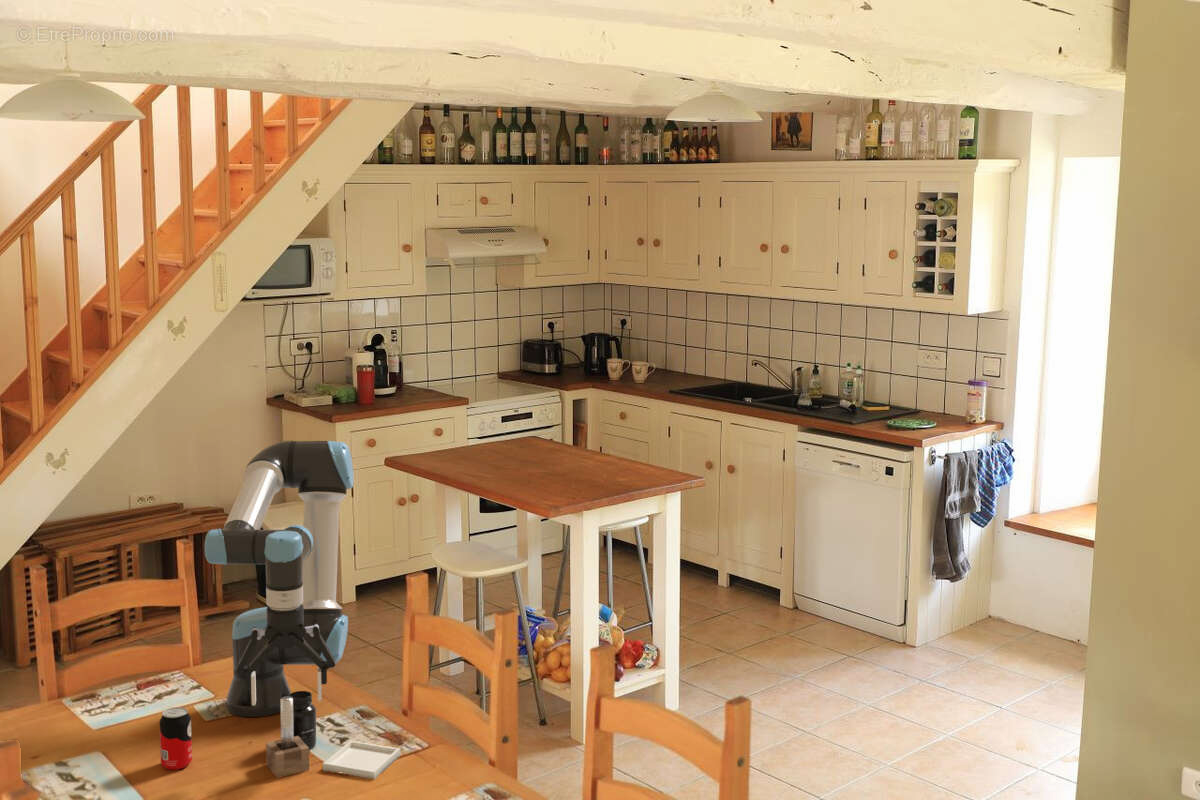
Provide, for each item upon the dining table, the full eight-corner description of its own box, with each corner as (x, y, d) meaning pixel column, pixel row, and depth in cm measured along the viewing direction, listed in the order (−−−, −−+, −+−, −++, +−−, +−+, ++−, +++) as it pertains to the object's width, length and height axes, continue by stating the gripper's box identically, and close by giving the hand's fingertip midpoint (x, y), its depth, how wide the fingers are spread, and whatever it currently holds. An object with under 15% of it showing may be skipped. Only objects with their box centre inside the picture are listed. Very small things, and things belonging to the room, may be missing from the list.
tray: (322, 770, 255) (322, 763, 255) (350, 747, 266) (350, 740, 266) (374, 779, 251) (374, 772, 251) (400, 755, 263) (400, 748, 263)
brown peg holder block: (266, 764, 257) (266, 742, 256) (298, 757, 261) (297, 735, 260) (276, 777, 251) (276, 755, 250) (309, 770, 255) (308, 747, 254)
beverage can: (174, 774, 252) (172, 720, 250) (154, 766, 255) (152, 713, 253) (198, 763, 257) (196, 710, 255) (179, 756, 260) (177, 703, 258)
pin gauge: (281, 763, 254) (280, 701, 252) (281, 758, 257) (280, 696, 255) (293, 763, 255) (292, 700, 253) (294, 757, 257) (293, 695, 255)
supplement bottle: (308, 754, 263) (307, 702, 261) (279, 750, 264) (278, 699, 262) (321, 741, 269) (321, 690, 268) (293, 737, 271) (292, 687, 269)
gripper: (221, 614, 244) (224, 712, 248) (346, 608, 250) (347, 703, 253) (224, 602, 251) (227, 697, 255) (345, 596, 257) (346, 689, 261)
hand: (287, 700), depth 254 cm, fingers open, 13 cm apart
